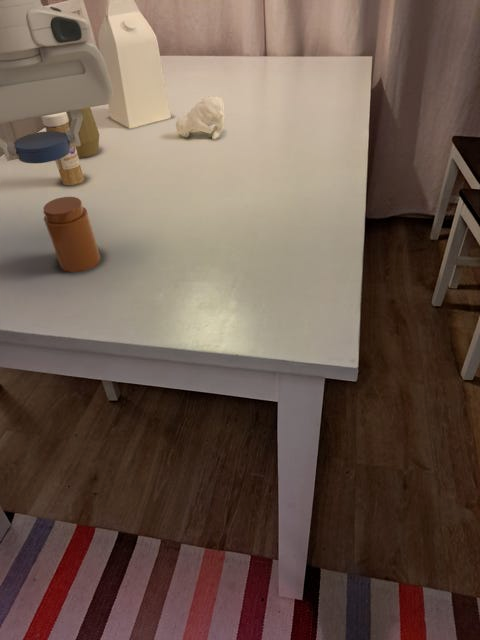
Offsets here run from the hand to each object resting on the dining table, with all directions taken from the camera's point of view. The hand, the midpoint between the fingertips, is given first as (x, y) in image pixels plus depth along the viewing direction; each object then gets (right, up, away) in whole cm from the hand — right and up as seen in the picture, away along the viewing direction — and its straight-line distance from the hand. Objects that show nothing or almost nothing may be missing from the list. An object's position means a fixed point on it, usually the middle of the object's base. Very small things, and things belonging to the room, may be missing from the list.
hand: (44, 151), depth 60 cm
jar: (+1, -13, +11) cm, 17 cm away
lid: (0, +1, -1) cm, 1 cm away
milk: (-1, +31, +62) cm, 70 cm away
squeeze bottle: (-10, +16, +45) cm, 48 cm away
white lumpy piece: (+16, +22, +50) cm, 57 cm away
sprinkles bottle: (-8, +6, +34) cm, 35 cm away
